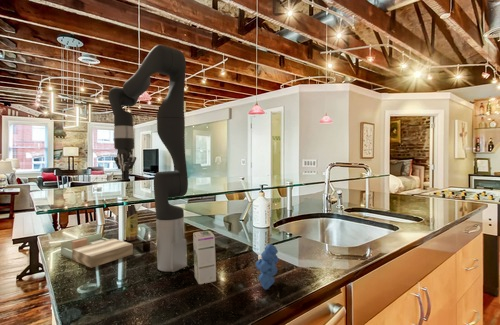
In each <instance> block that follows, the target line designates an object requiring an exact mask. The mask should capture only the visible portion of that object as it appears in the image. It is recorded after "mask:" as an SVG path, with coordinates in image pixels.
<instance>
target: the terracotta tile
mask: <svg viewBox="0 0 500 325" xmlns="http://www.w3.org/2000/svg"><path fill="white" fill-rule="evenodd" d="M87 245H88V242H87V239H86V238H84V239H80V240H75V241H72V249H76V248H79V247H83V246H87Z"/></svg>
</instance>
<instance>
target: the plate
mask: <svg viewBox="0 0 500 325" xmlns="http://www.w3.org/2000/svg"><path fill="white" fill-rule="evenodd" d="M133 247H134V246H133V243H131V242H128V241H125V240H124V241H123V240H120V239H116V238H110V239H109V240H106V241H102V242H98V243H95V244H91V245H87V246H83V247H79V248H76V249H72V254H73V260H72V261H74V262H77V263H79V264H81V265H83V266H86V267H88V268H90V269H92V268H95V267H98V266H101V265H104V264H107V263H110V262H113V261H116V260H119V259H123V258H125V257H129V256H132V255H134V248H133Z"/></svg>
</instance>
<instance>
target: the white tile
mask: <svg viewBox="0 0 500 325" xmlns="http://www.w3.org/2000/svg"><path fill="white" fill-rule="evenodd" d="M102 241H104V240H97V241H93V242H89V245H91V244H95V243H98V242H102Z"/></svg>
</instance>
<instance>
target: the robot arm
mask: <svg viewBox="0 0 500 325" xmlns="http://www.w3.org/2000/svg"><path fill="white" fill-rule="evenodd" d="M186 66H187V65H186V57H185V55H184V52H182V51H181V50H180V49H177V48H173V47H170V46H167V45H164V44H156V45H155V46H154V47H153V48H152V49H151V50H150V51H149V52H148V54H147V55H146V56H145V58H144V59H143V61H142V62H141V63H140V66H139V67H138V69H137V70H136V72H135V73H134V74H133V75H131V77H130V78H128V80H126V81H125V82H124V83H123V85H122V87H116V86H115V87H112V88H111V89H110V90H109V91H108V95H107V96H108V101H109V105H110V107H111V111H112V113H113V123H114V124H113V125H114V127H113V148H114V150H117V152H116V156H114V157H113V160H114V162H115V164H116V167H117V170H120V172H121V180H122V181H128V180H129V179H130V170H133V167H134V165H135V163H136V160H137V157H136V156H133V150H134V149H135V131H134V116H133V113H132V112H130V111H127V110H125V109H124V108H123V107H129V108H131V107H133V106H135V105H136V104H137V102H138V100H139V98H140V96H142V95H143V94H144V93H146V92H147V91H148V90H149V88H150V85H151V77H152V75H155V74H160V75H162V76H163V75H164V76H167V77H169V84H168V86H169V87H168V92H167V94H166V96H165V98H164V99H163V101H162V102H161V104H160V106H159V108H158V110H157V112H156V113H157V114H156V129H157V130H156V131H157V136H158V137H159V139H160V140H161V142H162V144H163V145H164V146H165V148H166V149H167V152H168V153H169V155H170V157H171V159H172V163H173V170H168V171H167V170H165V171H158V172H156V173H155V174H154V177H153V193H154V194H153V195H154V207H155V208H154V210H155V221H156V223H155V225H156V226H155V227H156V230H155V231H156V255H157V256H156V258H157V260H156V261H157V263H156V264H157V270H159V271H161V272H172V273H174V272H177V271H179V270H182V269H183V268H186V267H188V256H187V252H188V250H187V247H188V246H187V239H186V238H185V215H184V214H185V213H184V209H183V207H181V206H175V205H172V204H170V202H169V199H172V198H180V197H184V196H186V194H187V193H188V188H189V178H188V177H189V176H188V170H187V169H188V168H187V158H186V139H185V138H186V137H185V136H186V130H185V129H186V125H185V124H186V122H185V119H186V116H185V85H186V84H185V82H186V71H187V70H186V69H187V68H186Z"/></svg>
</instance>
